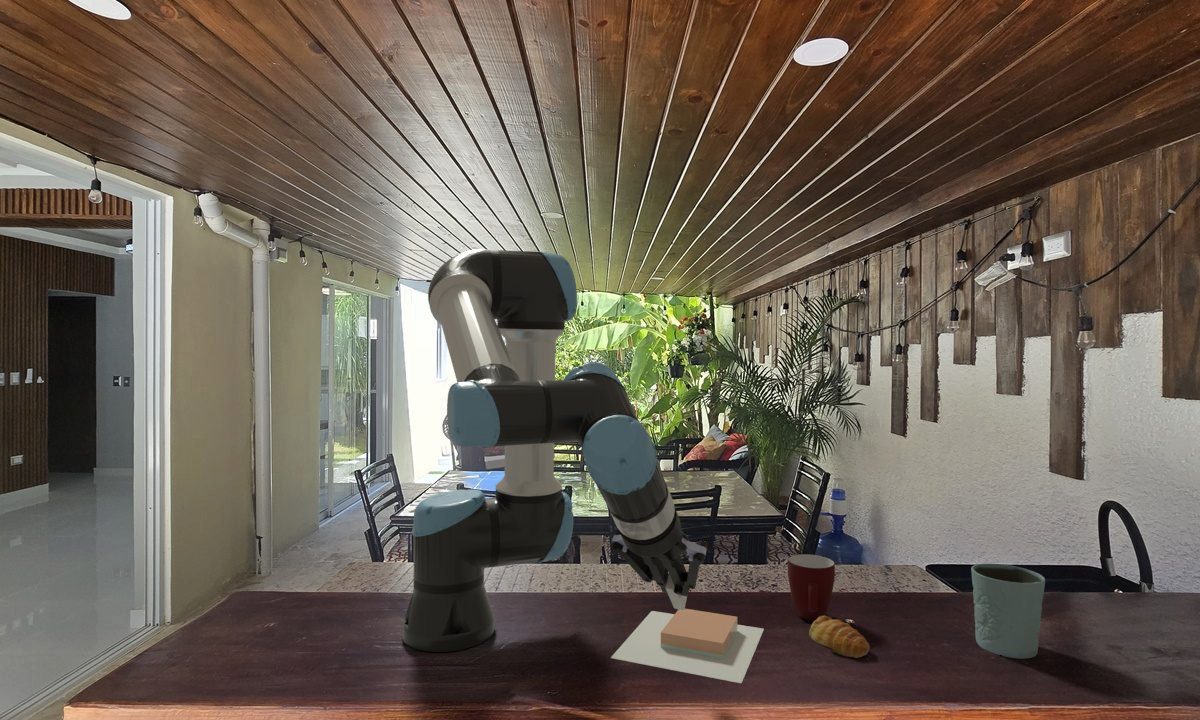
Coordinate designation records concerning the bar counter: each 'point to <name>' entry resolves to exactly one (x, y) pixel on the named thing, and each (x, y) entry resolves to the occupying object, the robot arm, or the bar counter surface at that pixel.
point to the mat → (648, 651)
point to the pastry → (838, 637)
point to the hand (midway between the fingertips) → (681, 600)
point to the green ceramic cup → (1007, 609)
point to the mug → (811, 584)
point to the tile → (699, 633)
